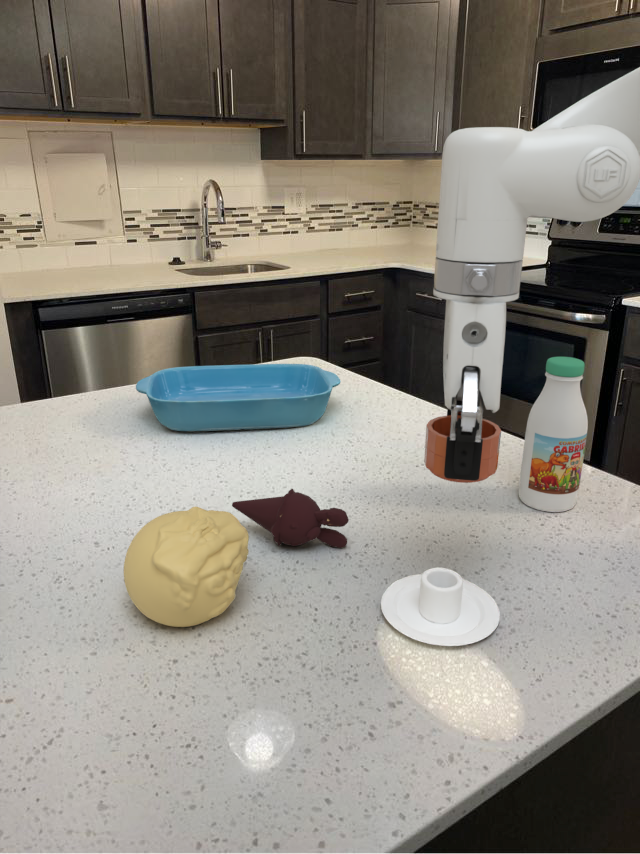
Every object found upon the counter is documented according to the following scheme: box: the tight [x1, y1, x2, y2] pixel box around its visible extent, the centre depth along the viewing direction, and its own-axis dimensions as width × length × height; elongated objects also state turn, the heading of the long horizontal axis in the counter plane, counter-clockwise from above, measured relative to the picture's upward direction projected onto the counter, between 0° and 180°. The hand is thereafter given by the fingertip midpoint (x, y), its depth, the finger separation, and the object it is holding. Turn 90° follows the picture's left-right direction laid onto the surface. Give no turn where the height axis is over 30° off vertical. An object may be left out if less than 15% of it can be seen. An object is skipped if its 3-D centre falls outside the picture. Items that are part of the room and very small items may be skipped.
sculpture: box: [123, 506, 250, 628], centre depth 67 cm, size 12×12×11 cm
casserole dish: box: [135, 363, 341, 432], centre depth 122 cm, size 37×22×7 cm, turn 99°
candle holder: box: [380, 566, 501, 647], centre depth 68 cm, size 12×12×4 cm
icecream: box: [231, 488, 349, 549], centre depth 80 cm, size 7×7×15 cm
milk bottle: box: [518, 356, 589, 513], centre depth 88 cm, size 8×8×20 cm
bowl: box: [423, 415, 502, 484], centre depth 65 cm, size 7×7×4 cm
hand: (460, 460), depth 65 cm, fingers closed on bowl, 7 cm apart
